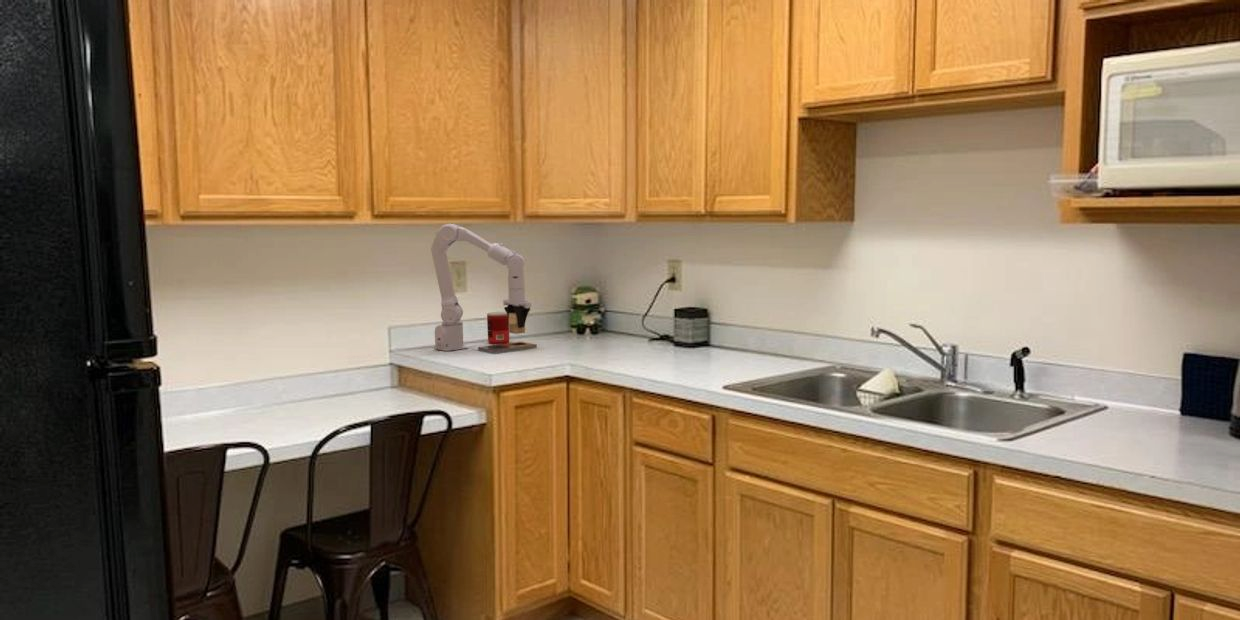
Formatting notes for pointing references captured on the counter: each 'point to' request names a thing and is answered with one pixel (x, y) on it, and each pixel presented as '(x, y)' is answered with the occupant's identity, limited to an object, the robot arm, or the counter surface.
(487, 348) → the rail plate
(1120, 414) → the counter surface
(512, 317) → the birch peg
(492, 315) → the canned food
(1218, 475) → the counter surface
